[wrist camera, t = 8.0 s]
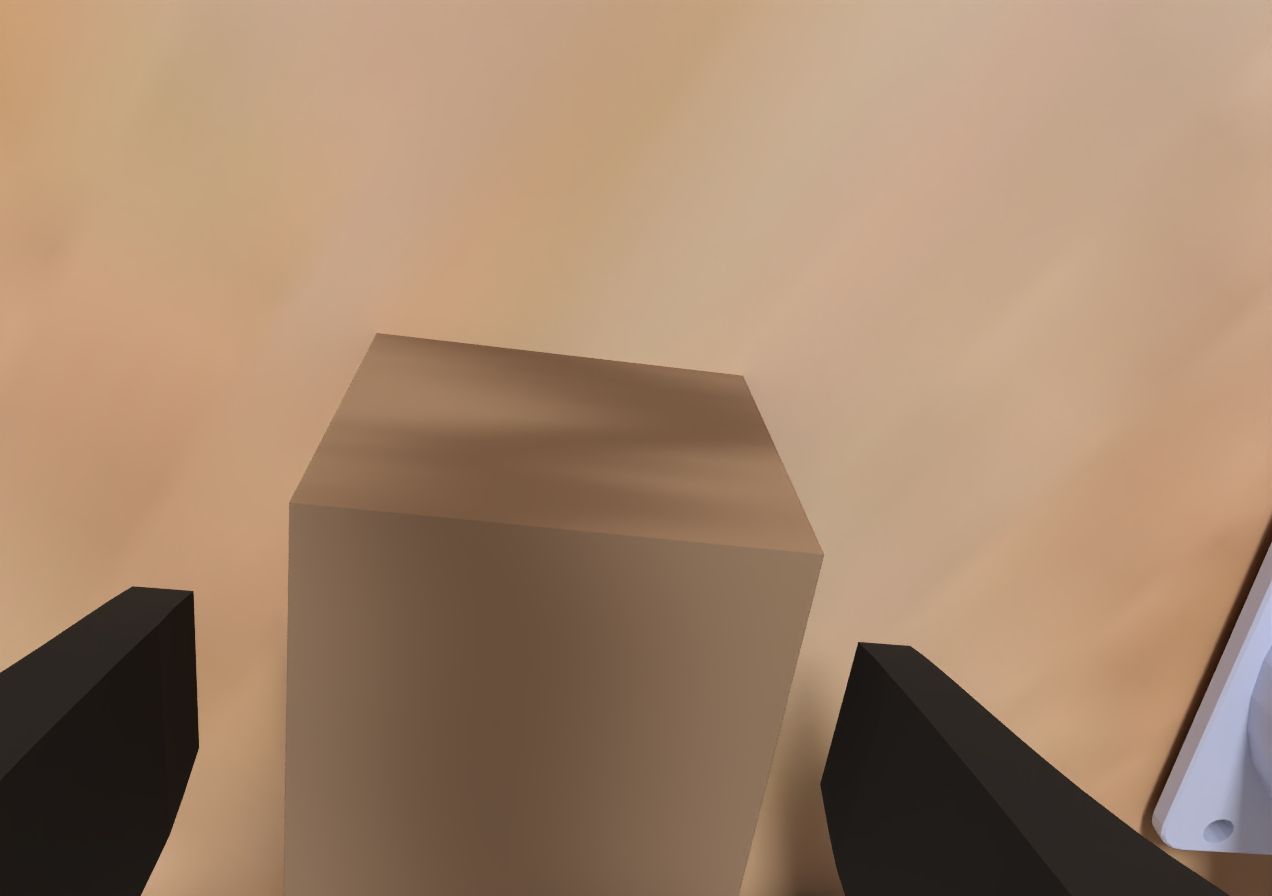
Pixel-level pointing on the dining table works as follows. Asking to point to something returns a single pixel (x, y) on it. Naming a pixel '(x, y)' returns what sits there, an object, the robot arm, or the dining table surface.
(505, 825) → the walnut cube
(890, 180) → the dining table surface
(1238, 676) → the robot arm
